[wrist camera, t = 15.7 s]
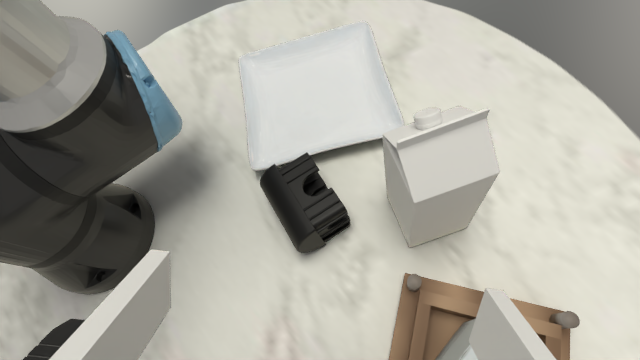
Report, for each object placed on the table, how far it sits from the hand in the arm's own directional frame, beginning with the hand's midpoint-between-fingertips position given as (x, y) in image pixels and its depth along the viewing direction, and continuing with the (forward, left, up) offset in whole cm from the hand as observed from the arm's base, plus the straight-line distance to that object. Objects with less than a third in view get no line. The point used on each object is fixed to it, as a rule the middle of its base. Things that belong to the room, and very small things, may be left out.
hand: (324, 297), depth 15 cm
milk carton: (+4, +14, -27) cm, 31 cm away
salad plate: (-14, +28, -28) cm, 42 cm away
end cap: (-10, +11, -27) cm, 31 cm away
